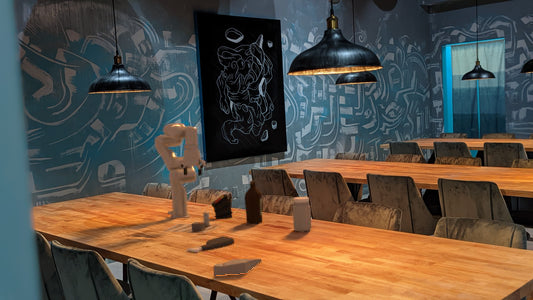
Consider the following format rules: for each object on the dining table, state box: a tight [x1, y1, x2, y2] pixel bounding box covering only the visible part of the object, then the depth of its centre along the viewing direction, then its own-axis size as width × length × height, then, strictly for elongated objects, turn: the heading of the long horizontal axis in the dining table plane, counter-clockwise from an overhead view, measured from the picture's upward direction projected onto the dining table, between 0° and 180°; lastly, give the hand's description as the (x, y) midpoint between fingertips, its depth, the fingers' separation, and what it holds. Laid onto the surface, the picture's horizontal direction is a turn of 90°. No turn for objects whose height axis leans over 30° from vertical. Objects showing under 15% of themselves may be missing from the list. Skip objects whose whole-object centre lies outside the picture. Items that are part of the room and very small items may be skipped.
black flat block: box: [211, 194, 233, 220], centre depth 347 cm, size 4×13×15 cm, turn 129°
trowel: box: [212, 258, 262, 277], centre depth 233 cm, size 28×16×5 cm, turn 139°
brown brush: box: [186, 236, 235, 253], centre depth 274 cm, size 3×11×24 cm
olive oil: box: [244, 180, 263, 225], centre depth 330 cm, size 11×11×25 cm
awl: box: [202, 211, 211, 227], centre depth 319 cm, size 3×3×8 cm
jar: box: [292, 196, 312, 232], centre depth 302 cm, size 10×10×18 cm
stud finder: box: [191, 221, 205, 231], centre depth 310 cm, size 6×5×5 cm
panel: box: [162, 223, 221, 236], centre depth 316 cm, size 28×20×1 cm
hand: (192, 175), depth 335 cm, fingers open, 9 cm apart
